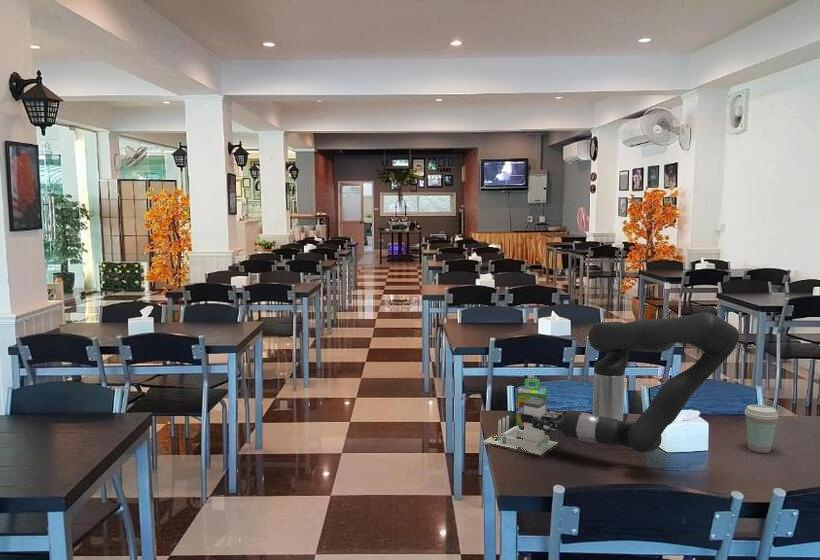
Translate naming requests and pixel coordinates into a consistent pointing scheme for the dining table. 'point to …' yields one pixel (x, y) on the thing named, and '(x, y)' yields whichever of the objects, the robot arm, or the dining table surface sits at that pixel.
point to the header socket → (511, 441)
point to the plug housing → (529, 432)
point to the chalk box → (528, 397)
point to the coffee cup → (760, 427)
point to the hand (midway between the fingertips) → (525, 415)
